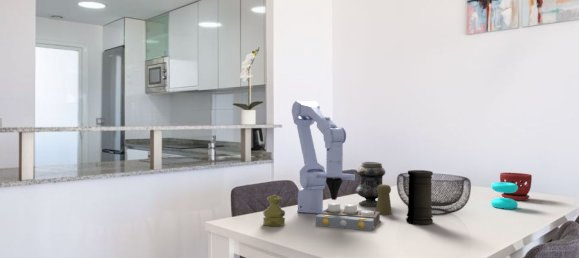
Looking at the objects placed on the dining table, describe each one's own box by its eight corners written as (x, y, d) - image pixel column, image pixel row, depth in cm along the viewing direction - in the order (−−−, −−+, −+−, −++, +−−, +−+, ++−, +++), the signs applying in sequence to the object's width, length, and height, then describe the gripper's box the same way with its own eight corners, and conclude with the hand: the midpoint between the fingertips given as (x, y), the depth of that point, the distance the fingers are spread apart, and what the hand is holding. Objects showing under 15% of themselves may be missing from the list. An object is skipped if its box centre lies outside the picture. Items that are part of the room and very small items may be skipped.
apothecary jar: (391, 205, 189) (391, 162, 189) (370, 208, 183) (370, 163, 182) (370, 200, 199) (371, 160, 199) (350, 203, 193) (350, 161, 192)
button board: (320, 221, 157) (320, 213, 157) (328, 216, 166) (328, 207, 166) (375, 226, 150) (375, 217, 150) (379, 220, 160) (379, 211, 160)
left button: (326, 214, 159) (326, 204, 159) (329, 212, 163) (329, 202, 163) (338, 215, 158) (338, 205, 158) (341, 213, 162) (341, 203, 162)
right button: (359, 222, 155) (360, 212, 155) (362, 220, 159) (362, 210, 159) (372, 223, 154) (372, 213, 154) (374, 221, 158) (374, 211, 158)
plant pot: (537, 201, 201) (537, 175, 201) (507, 201, 201) (508, 174, 201) (522, 196, 214) (522, 171, 214) (494, 196, 214) (495, 171, 214)
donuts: (504, 185, 180) (486, 182, 190) (503, 210, 181) (485, 205, 190) (523, 184, 184) (504, 181, 193) (523, 209, 184) (504, 204, 193)
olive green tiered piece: (268, 227, 147) (269, 197, 147) (259, 223, 154) (259, 194, 154) (288, 225, 151) (289, 195, 151) (279, 221, 157) (279, 192, 157)
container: (433, 220, 160) (433, 170, 160) (432, 226, 151) (433, 173, 151) (407, 218, 163) (407, 169, 163) (405, 224, 154) (405, 171, 154)
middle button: (342, 216, 157) (343, 206, 157) (345, 213, 161) (345, 203, 161) (355, 217, 156) (355, 206, 156) (357, 214, 160) (358, 204, 160)
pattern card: (315, 225, 151) (315, 216, 151) (318, 222, 155) (319, 213, 155) (371, 230, 145) (372, 220, 145) (374, 227, 149) (374, 218, 149)
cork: (391, 215, 169) (392, 186, 169) (375, 214, 170) (375, 185, 170) (391, 212, 175) (391, 184, 174) (375, 211, 176) (376, 183, 176)
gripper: (311, 161, 159) (311, 199, 159) (352, 163, 154) (351, 202, 154) (317, 160, 166) (317, 196, 166) (356, 161, 161) (355, 199, 161)
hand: (334, 199), depth 160 cm, fingers closed
